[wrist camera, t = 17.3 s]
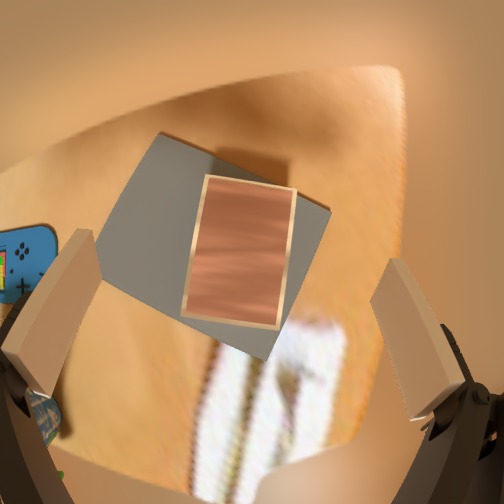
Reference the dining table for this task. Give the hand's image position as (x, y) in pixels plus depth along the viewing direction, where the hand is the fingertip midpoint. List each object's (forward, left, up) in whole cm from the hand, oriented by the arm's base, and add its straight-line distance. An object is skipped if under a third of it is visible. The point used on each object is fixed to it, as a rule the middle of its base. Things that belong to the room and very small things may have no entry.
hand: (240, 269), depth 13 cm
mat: (-4, +3, -16) cm, 17 cm away
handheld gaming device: (-24, -10, -17) cm, 31 cm away
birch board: (+1, -3, -14) cm, 14 cm away
